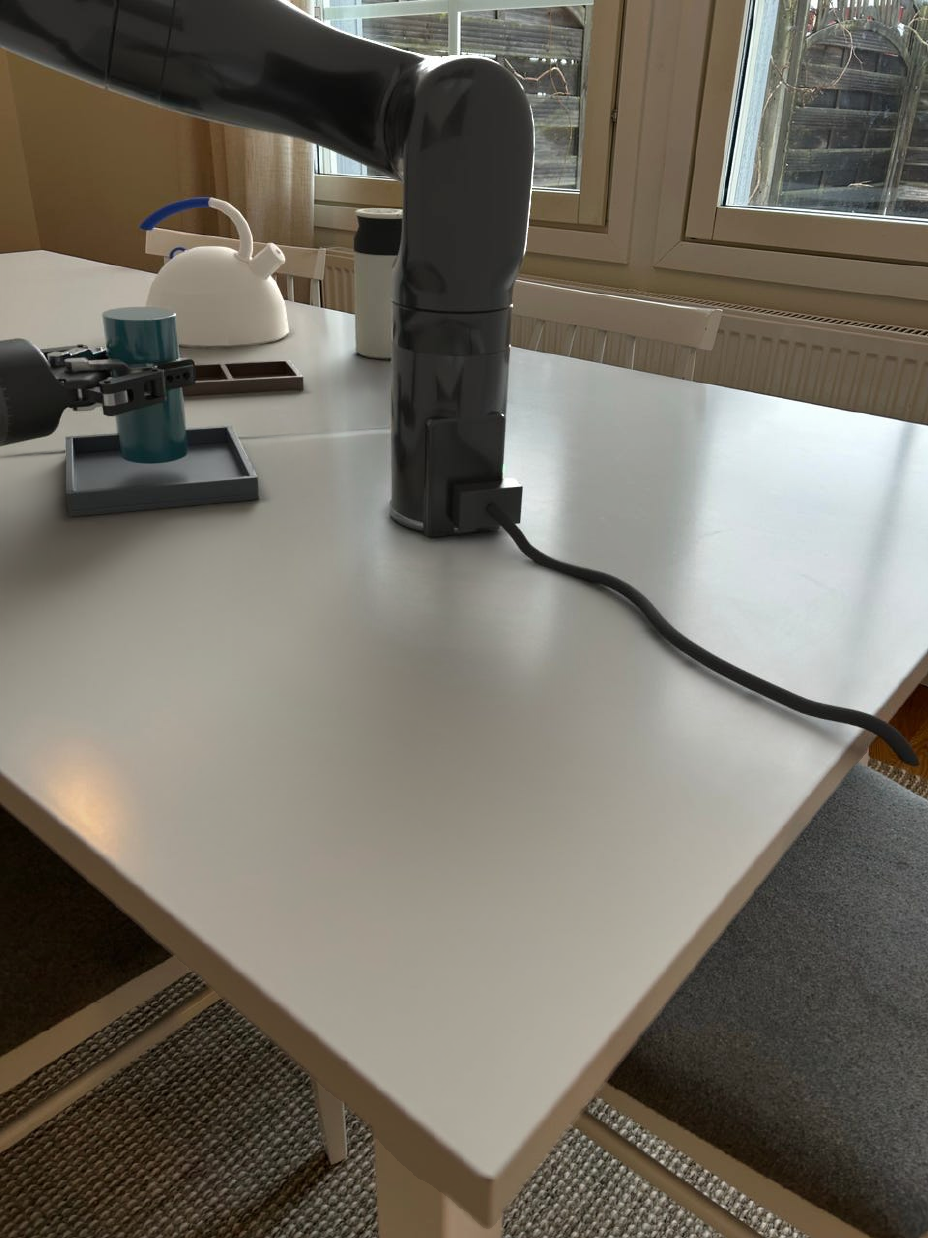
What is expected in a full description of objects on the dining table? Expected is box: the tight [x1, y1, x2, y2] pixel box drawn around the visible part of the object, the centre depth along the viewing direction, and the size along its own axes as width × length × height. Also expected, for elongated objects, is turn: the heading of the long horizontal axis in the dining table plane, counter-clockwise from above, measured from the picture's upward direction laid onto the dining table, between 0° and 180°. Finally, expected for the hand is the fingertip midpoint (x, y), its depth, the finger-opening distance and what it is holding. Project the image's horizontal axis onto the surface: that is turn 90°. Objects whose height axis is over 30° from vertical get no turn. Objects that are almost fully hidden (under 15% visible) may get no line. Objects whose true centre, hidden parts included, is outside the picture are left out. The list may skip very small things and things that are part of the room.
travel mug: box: [353, 207, 403, 360], centre depth 126 cm, size 8×8×18 cm
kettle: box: [139, 196, 290, 348], centre depth 133 cm, size 20×21×18 cm
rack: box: [183, 359, 305, 398], centre depth 112 cm, size 8×16×2 cm, turn 110°
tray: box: [65, 424, 260, 518], centre depth 85 cm, size 15×15×2 cm
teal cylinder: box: [101, 306, 189, 464], centre depth 81 cm, size 6×6×12 cm
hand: (169, 363), depth 82 cm, fingers closed on teal cylinder, 6 cm apart
